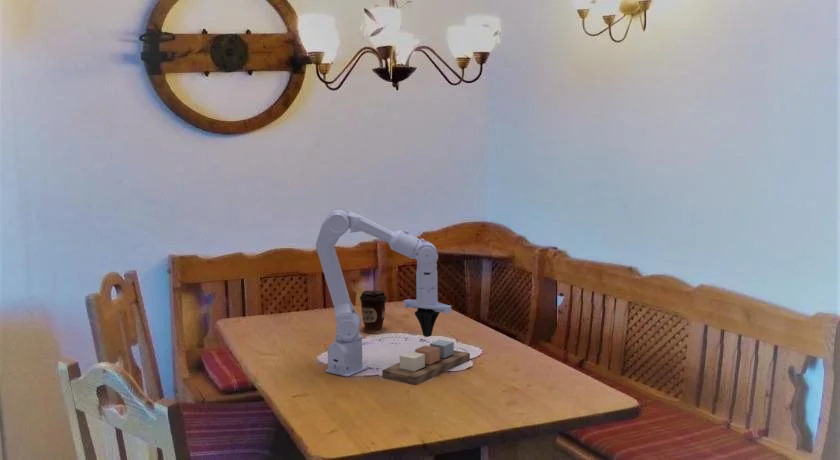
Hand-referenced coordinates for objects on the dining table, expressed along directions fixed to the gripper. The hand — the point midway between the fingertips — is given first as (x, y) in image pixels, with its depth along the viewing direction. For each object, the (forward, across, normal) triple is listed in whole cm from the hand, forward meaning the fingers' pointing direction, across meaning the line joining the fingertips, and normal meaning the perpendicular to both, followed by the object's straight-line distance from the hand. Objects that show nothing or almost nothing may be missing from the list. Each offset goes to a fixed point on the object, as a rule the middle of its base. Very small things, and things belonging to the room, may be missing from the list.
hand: (427, 335), depth 219 cm
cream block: (+7, 0, +7) cm, 10 cm away
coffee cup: (+9, +37, -22) cm, 44 cm away
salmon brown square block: (+7, 0, 0) cm, 7 cm away
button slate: (+7, 0, -7) cm, 10 cm away
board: (+9, 0, 0) cm, 9 cm away
